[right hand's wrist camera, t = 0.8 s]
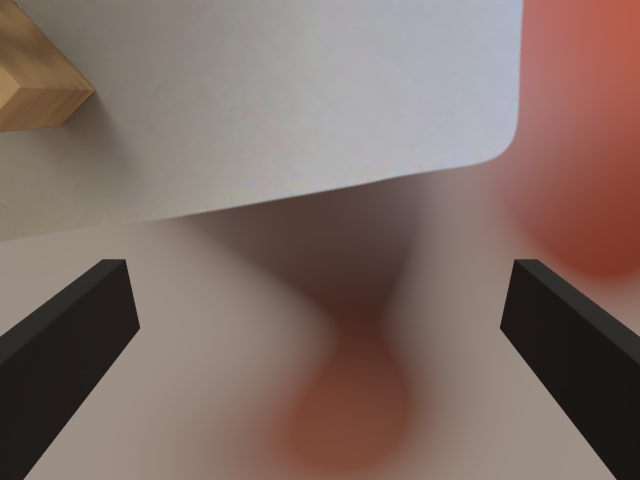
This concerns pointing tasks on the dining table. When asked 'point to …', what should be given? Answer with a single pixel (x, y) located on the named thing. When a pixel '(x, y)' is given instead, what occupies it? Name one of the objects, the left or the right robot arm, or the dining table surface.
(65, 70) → the bar
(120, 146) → the dining table surface
